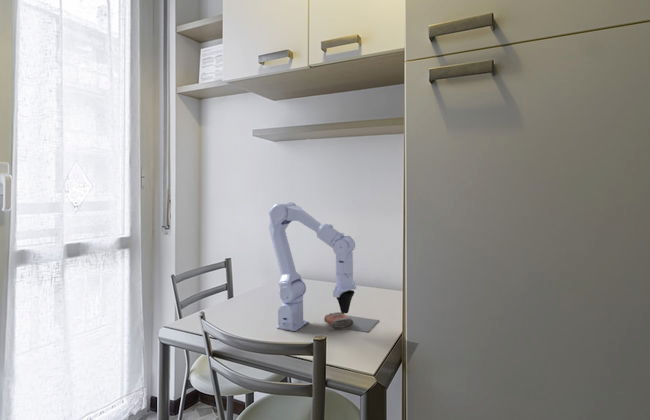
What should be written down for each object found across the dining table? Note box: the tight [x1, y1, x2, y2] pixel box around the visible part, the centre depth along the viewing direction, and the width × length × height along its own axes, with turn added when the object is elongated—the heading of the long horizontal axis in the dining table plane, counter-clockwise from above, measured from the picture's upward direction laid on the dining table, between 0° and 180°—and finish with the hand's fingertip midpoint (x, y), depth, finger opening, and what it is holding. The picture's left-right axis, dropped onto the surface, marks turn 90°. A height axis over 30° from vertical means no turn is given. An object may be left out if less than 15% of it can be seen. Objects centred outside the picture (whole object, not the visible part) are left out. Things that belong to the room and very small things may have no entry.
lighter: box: [323, 311, 353, 330], centre depth 132 cm, size 8×3×10 cm
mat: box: [345, 314, 380, 333], centre depth 134 cm, size 12×14×1 cm
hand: (344, 312), depth 125 cm, fingers closed
